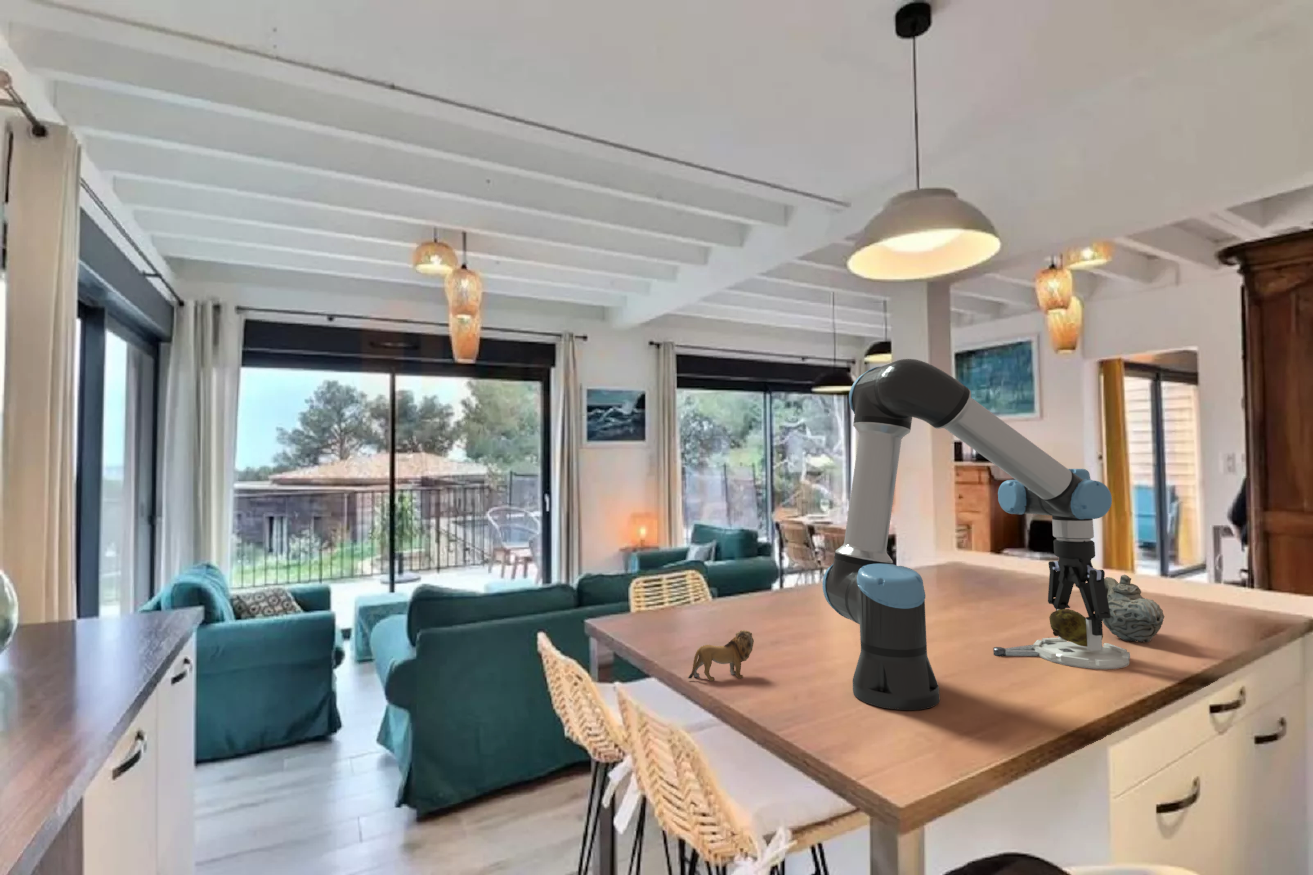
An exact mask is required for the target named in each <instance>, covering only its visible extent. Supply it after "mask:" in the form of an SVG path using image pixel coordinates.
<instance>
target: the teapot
mask: <svg viewBox="0 0 1313 875" xmlns="http://www.w3.org/2000/svg"><path fill="white" fill-rule="evenodd" d="M1131 580H1132V578H1131V577H1130V576H1128V575H1126V574H1122V575H1120V580H1119V582H1118V581H1117V580H1116V579H1115V578H1113V577H1110V576H1108V577H1107V576H1105V577H1104V583H1105V588H1106V594H1107V599H1108V604H1109V610H1110V615H1111V617H1110V618H1106V619H1103V620H1102V624H1104V626H1105V627H1106V628H1107V629H1108V630H1109V631H1110V633H1112V635H1114V636H1116V637H1118V638H1119V639H1121V640H1122V641H1125V642H1135V643H1136V642H1138V643H1149V642H1151V640H1152V639H1153V638H1154V637H1155V636H1156V635H1157V634H1158V633H1159V631H1160V630H1161V628H1162V625H1163V622H1164V619H1165V614H1164V611H1163V609H1162V608H1161V606H1160V604H1158V603H1157V602H1156V601H1154V600H1153V599H1151V598H1150V599H1149V598H1145V597H1143V596H1142V595H1141V593H1142V590H1141V587H1139V586H1138V585H1137V584H1134V583H1131Z"/></svg>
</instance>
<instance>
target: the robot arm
mask: <svg viewBox="0 0 1313 875" xmlns="http://www.w3.org/2000/svg"><path fill="white" fill-rule="evenodd" d="M848 402H849V403H848V404H849V406H850V410H852V413H853V414H854V415H853V423H852V426H853V427H854V428H855V430H856V431H857V433H858V440H857V441H858V442H857V448H856V453H855V454H856V455H855V462H854V468H853V476H852V484H851V492H850V499H849V504H848V512H847V519H846V520H847V521H846V526H845V534H844V541H843V544H842V545H841V546H840V547H838V548H837V549H835V552H834V558H833V563H832V564H831V565H829V567H827V569H826V571H825V573H824V575H823V578H822V592H823V596H824V598H825V600H826V602H827V604H828V605H829V606H830V607H831V609H833V611H835V613H838V614H839V615H840V616H841V617H842V618H845V619H847V620H851V621H852V622H854V623H856V624H858V626H859V636H860V637H859V640H860V651H859V652H860V654H859V656H858V659H857V663H856V666H855V669H854V674H853V677H852V693H853V695H854V697H856V698H857V699H859V701H861V702H864V703H866V704H869V705H872V706H874V707H879V708H884V709H889V710H890V709H891V710H896V711H897V710H898V711H899V710H900V711H918V710H919V711H920V710H924V709H929V708H932V707H934V706H936V705H938V704H939V703H940V700H941V699H940V698H941V697H940V686H939V684H938V681H937V677H936V675H935V673H934V670H933V667H932V665H931V663H930V659H929V657H928V650H927V648H928V647H927V646H928V645H927V625H926V624H927V623H926V620H927V619H926V602H925V601H926V600H925V599H926V592H925V591H926V590H925V587H924V580H923V577H922V576H921V574H920V573H919V572H917V571H916V570H914V569H912V568H909V567H907V566H904V565H896V564H893V563H894V561H893V559H892V558H891V557H890V555H889V554H888V553H887V552H888V551H887V547H888V541H889V532H890V526H891V525H890V524H891V521H892V520H891V518H892V513H893V504H894V497H895V491H896V490H895V489H896V481H897V475H898V474H897V473H898V467H899V460H900V452H901V444H902V439H903V438H904V437H906V436H907V435H909V434H910V433H911V429H912V422H913V418H914V419H918V420H922V421H923V422H926V423H927V424H929V425H930V426H931V427H933V428H934V429H937V430H938V429H945V430H946V431H948V432H949V433H950V434H952V435H953V436H954V437H956V438H957V439H959V440H960V441H961V442H963V443H964V444H966V445H967V446H968V447H970V448H971V449H972V450H974V451H975V452H976V453H978V454H979V455H981V456H982V457H983V458H985V459H986V460H988V461H989V462H990V463H992V464H994V465H995V466H996V467H998V468H999V469H1000V470H1001V471H1003V472H1004V473H1006V474H1007V475H1009V476H1010V477H1011V478H1013V479H1007V480H1005V481H1003V482H1002V483H1001V484H1000V485H999V487H998V490H997V497H998V498H997V501H998V503H999V506H1000V508H1001V509H1002V510H1003V511H1004V512H1005V513H1008V514H1011V515H1020V516H1021V515H1041V516H1051V518H1052V519H1051V521H1052V522H1051V524H1052V536H1053V537H1054V538H1055V539H1054V540H1053V552H1054V554H1053V555H1054V556H1056V557H1058V560H1051V561H1050V560H1049V561H1048V569H1049V575H1048V576H1049V579H1048V592H1047V604H1049V605H1053V607H1054V609H1055V611H1056V610H1060V609H1069V610H1071V609H1070V608H1071V606H1070V605H1069V602H1070V599H1071V594H1072V591H1073V588H1074V586H1075V587H1076V588H1078V591H1079V593H1080V595H1081V596H1080V597H1081V598H1082V601H1083V604H1084V607H1085V610H1086V613H1087V615H1088V616H1087V617H1086V616H1085V618H1086V632H1087V649H1088V650H1089V651H1097V650H1102V646H1103V638H1102V634H1103V635H1104V632H1103V621H1102V620H1103V619H1106V618H1110V617H1111V615H1110V610H1109V604H1108V599H1107V594H1106V588H1105V583H1104V579H1105V578H1106V576H1105V574H1106V573H1105V570H1103V569H1097V568H1094V565H1093V564H1092V559H1094V558H1095V557H1096V545H1095V543H1096V542H1094V540H1091V539H1094V538H1095V534H1094V533H1095V532H1094V520H1095V519H1096V520H1097V519H1100V518H1102V517H1104V516H1106V514H1107V513H1108V512H1109V511H1110V508H1111V507H1112V502H1113V498H1112V493H1111V491H1110V490H1109V487H1108V486H1107V485H1106V484H1105V483H1103V482H1101V481H1098V480H1093V479H1091V475H1090V472H1089V471H1088V469H1085V468H1067V467H1066V466H1064V465H1063V464H1062V463H1061V462H1059V461H1057V459H1055V458H1053V457H1052V456H1051V455H1049V454H1048V453H1047V452H1046V451H1044V450H1043V449H1041V448H1040V447H1039V446H1038V445H1036V444H1035V443H1033V442H1032V441H1031V440H1030V439H1028V438H1027V437H1026V436H1024V435H1022V434H1021V433H1020V432H1018V431H1017V430H1016V429H1015V428H1013V427H1012V426H1010V424H1009V423H1008V424H1007V422H1005V421H1003V420H1002V419H1001V418H1000V417H998V416H997V415H996V414H994V413H993V412H991V411H990V410H989V409H987V408H986V407H985V406H984V405H982V404H981V403H979V402H978V401H976V400H975V399H974V398H972V391H971V390H970V389H969V388H968V387H967V386H966V385H964V384H963V383H961V382H960V380H957V379H956V378H954V377H953V376H951V375H950V374H949V373H946V372H945V371H944V370H942V369H940V368H938V367H937V366H934V365H932V364H930V363H928V362H926V361H922V360H919V359H914V358H902V359H897V360H895V361H892V362H889V363H888V364H887V363H886V364H885V365H881V366H875V367H873V368H870V369H868V370H866V371H865V372H864V373H862V374H860V375H859V376H858V377H857V378H856V379H855V380H854V382H853V384H852V386H851V387H850V390H849V394H848ZM1057 638H1058V639H1060V640H1063V639H1062V638H1061V637H1059V636H1057Z"/></svg>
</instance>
